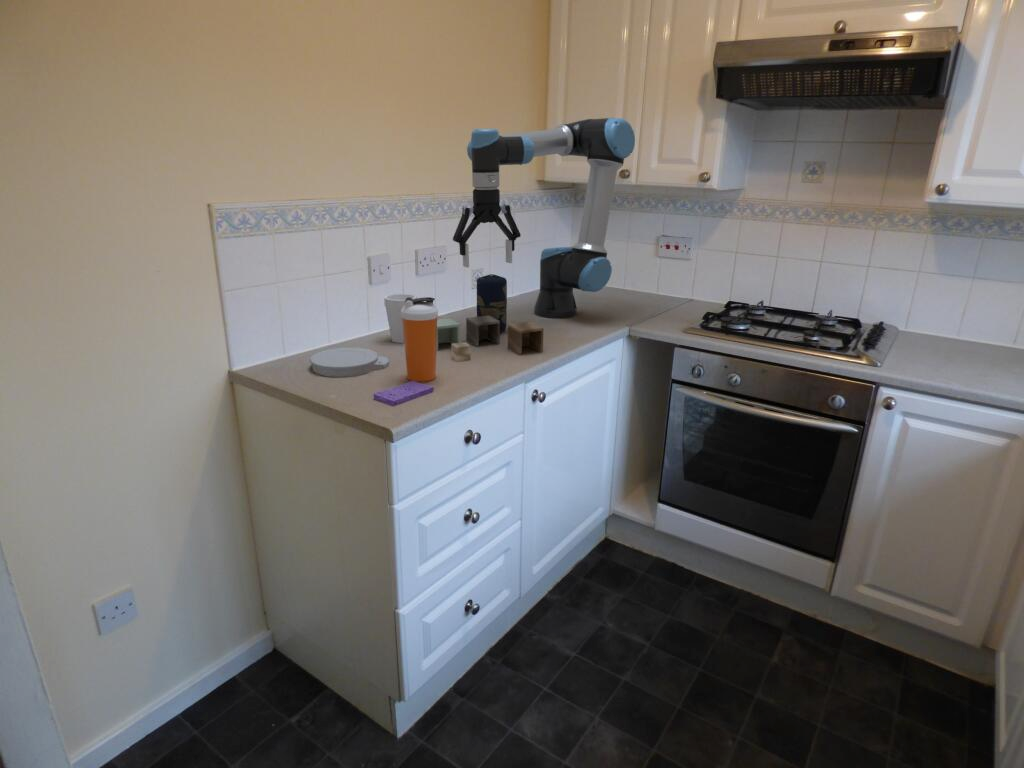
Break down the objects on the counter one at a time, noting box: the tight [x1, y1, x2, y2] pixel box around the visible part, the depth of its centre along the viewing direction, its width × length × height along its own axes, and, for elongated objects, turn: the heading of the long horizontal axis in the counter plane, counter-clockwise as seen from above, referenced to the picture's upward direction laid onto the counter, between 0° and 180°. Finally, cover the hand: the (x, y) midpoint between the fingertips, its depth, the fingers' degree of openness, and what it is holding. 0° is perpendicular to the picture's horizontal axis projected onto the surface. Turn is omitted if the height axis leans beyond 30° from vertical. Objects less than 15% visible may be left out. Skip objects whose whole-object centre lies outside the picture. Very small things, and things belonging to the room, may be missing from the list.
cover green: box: [436, 317, 461, 352], centre depth 187 cm, size 8×8×7 cm
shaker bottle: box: [401, 296, 439, 383], centre depth 158 cm, size 9×9×20 cm
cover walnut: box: [507, 321, 544, 356], centre depth 185 cm, size 8×8×7 cm
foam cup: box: [383, 293, 418, 344], centre depth 192 cm, size 10×9×13 cm
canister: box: [476, 273, 508, 333], centre depth 202 cm, size 10×10×18 cm
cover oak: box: [465, 316, 501, 348], centre depth 191 cm, size 8×8×7 cm
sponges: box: [372, 380, 435, 407], centre depth 150 cm, size 7×13×2 cm, turn 142°
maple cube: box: [450, 341, 472, 362], centre depth 177 cm, size 4×4×4 cm
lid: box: [309, 347, 390, 378], centre depth 169 cm, size 17×20×3 cm
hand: (487, 264), depth 188 cm, fingers open, 13 cm apart
